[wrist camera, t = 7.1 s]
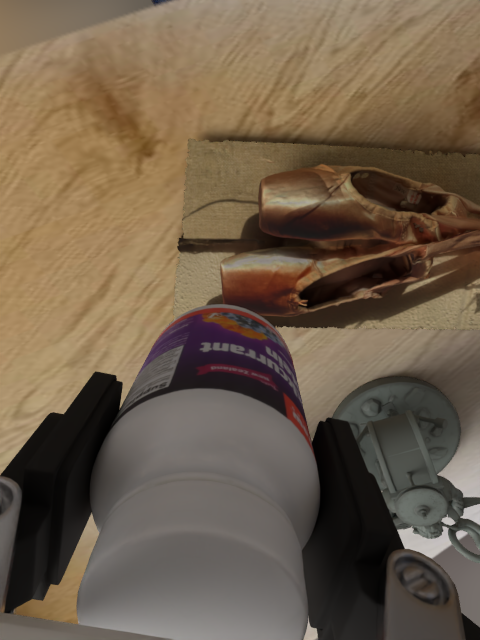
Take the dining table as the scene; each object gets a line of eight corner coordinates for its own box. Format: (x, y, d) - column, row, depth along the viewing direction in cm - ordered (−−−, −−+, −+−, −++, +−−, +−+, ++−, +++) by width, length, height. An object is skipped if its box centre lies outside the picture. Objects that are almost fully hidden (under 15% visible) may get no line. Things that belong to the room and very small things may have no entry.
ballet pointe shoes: (139, 128, 23) (672, 125, 22) (163, 140, 29) (578, 138, 29) (155, 363, 27) (604, 365, 26) (173, 329, 33) (535, 330, 33)
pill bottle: (321, 360, 16) (419, 614, 7) (229, 449, 18) (213, 756, 8) (211, 269, 15) (160, 432, 6) (123, 372, 16) (-29, 631, 7)
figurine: (350, 497, 38) (393, 633, 27) (310, 400, 35) (339, 510, 24) (467, 460, 37) (564, 588, 26) (436, 355, 34) (531, 450, 22)
